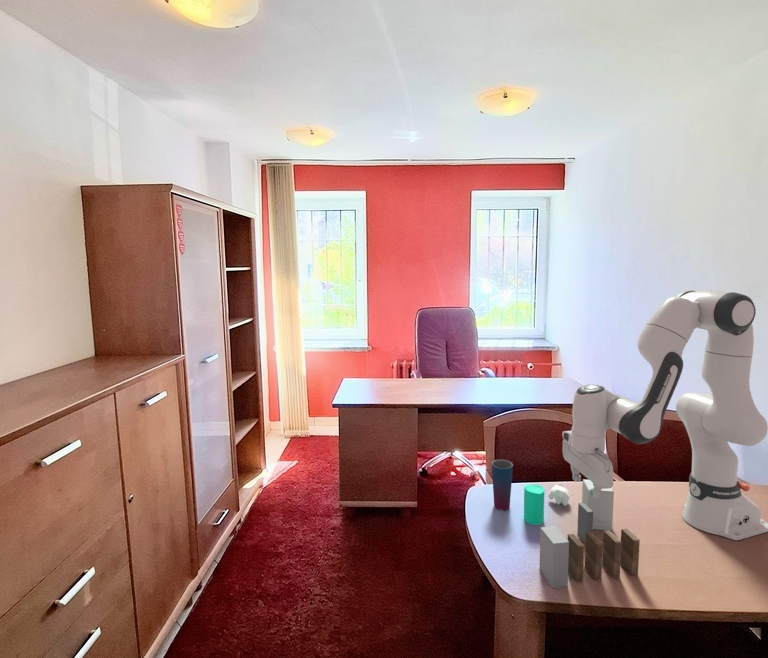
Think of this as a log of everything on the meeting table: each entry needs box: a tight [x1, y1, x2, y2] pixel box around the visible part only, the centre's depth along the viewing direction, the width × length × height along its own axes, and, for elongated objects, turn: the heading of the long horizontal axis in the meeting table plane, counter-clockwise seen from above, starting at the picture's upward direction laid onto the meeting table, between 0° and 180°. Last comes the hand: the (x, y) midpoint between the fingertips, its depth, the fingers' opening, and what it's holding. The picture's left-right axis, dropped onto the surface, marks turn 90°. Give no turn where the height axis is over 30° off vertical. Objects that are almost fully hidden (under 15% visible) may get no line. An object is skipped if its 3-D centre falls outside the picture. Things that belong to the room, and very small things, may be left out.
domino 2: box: [584, 532, 603, 581], centre depth 115 cm, size 2×5×10 cm, turn 6°
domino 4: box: [620, 528, 641, 577], centre depth 116 cm, size 2×5×10 cm, turn 6°
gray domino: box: [576, 502, 594, 543], centre depth 130 cm, size 2×5×10 cm, turn 6°
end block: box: [539, 525, 569, 589], centre depth 114 cm, size 4×7×12 cm, turn 6°
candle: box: [523, 483, 545, 526], centre depth 140 cm, size 6×6×12 cm
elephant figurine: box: [547, 482, 573, 507], centre depth 150 cm, size 7×8×6 cm
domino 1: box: [567, 533, 585, 583], centre depth 115 cm, size 2×5×10 cm, turn 6°
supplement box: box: [581, 479, 615, 531], centre depth 137 cm, size 7×7×13 cm
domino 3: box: [602, 530, 621, 579], centre depth 116 cm, size 2×5×10 cm, turn 6°
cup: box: [491, 459, 514, 511], centre depth 148 cm, size 7×7×15 cm
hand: (585, 488), depth 128 cm, fingers open, 8 cm apart
